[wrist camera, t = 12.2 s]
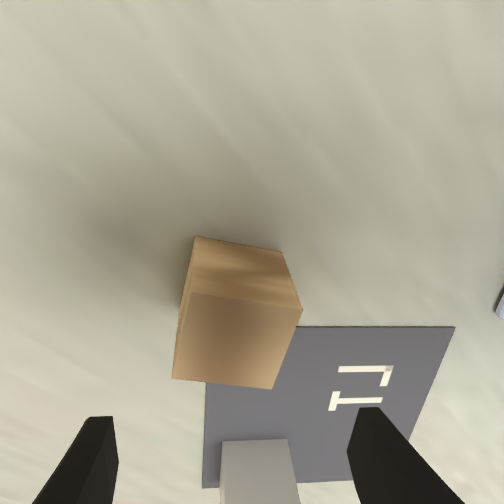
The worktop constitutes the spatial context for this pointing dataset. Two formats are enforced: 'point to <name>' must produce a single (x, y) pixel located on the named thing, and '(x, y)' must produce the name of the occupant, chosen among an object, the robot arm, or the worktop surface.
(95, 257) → the worktop surface
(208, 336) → the oak block
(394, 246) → the worktop surface
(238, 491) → the grey block
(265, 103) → the worktop surface
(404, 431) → the mat
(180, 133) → the worktop surface
